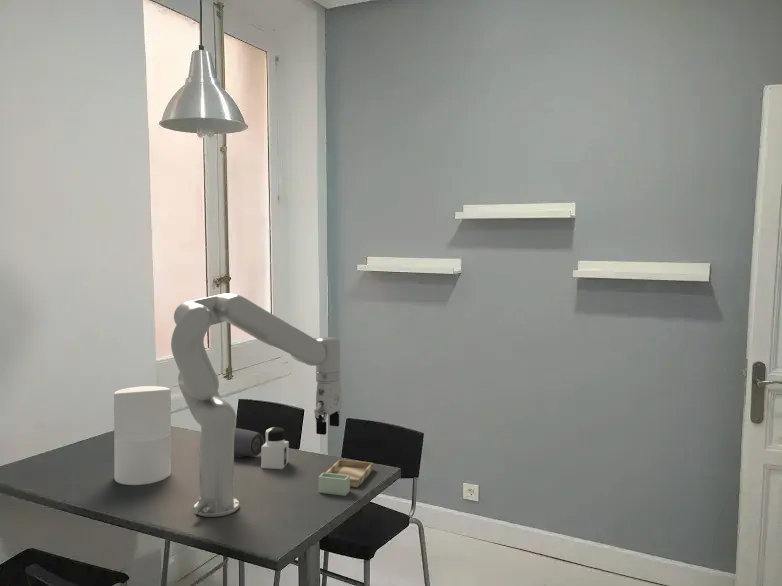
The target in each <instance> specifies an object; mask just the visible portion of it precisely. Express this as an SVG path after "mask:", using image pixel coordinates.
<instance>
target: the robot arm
mask: <svg viewBox="0 0 782 586" xmlns="http://www.w3.org/2000/svg"><path fill="white" fill-rule="evenodd" d="M173 313H174V314H173V321H174V323H175V327H174V330H173V332H172V336H171V340H170V348H171V353H172V356H173V359H174V361H175V364H176V366H177V369H178V371H179V372H178V375H177V382H178V387H179V389H180V391H181V394H182V396H183V399H184V401H185V403H186V404H187V407H188V409H189V411H190V413H191V415H192V417H193V419H194V420H195V422H196V423H197V425H198V424H199V426H200V429H201V431H200V432H201V433H200V438H199V450H198V451H199V452H198V455H199V497H198V501H197V502H196V503H195V504H194V505H193V507H192V508H191V513H192V514H194V515H197V516H201V517H207V518H212V517H213V518H217V517H223V516H227V515H230V514H233V513H235V512H236V511H238V509H239V508H240V501H239V500H238V499H237V498H235V497H234V496H235V495H234V494H235V493H234V492H235V489H234V487H235V484H234V483H235V457H234V436H235V429H236V428H237V427H236V426H237V415H236V411H235V409H234V407H233V406H232V405H231V404H230V403H229V402H228V401H226V400H225V399H223V398H222V397H221V395H220V393H219V387H220V382H219V381H220V380H219V377H218V375H217V373H216V371H215V369H214V368H213V367H214V366H213V365H212V362H211V360H210V358H209V356H208V353H207V351H206V347H205V343H204V341H205V336H206V335H207V333H208V331H209V330H210V328H211V326H213V325H214V326H215V325H217V324H221V323H225V322H226V323H228V324H230V325H232V326H234V327H235V328H237V329H239V330H241V331H243V332H245V334H246V333H247V335H250V336H251V337H253V338H255V339H257V340H258V341H260V342H261V343H262V342H263V343H264V344H266V345H268V346H271V347H275V348H277V349H280V350H282V351H284V352H286V353H287V354H289V355H290V356H291V357H292V359H294V360H295V361H297V362H299V363H303V364H305V365H308V366H310V367H311V366H315V382H316V392H315V393H316V394H315V409H314V418H315V422H316V423H315V424H316V425H315V427H316V428H315V429H316V431H315V433H316V434H317V435H323V436H326V435H327V421H326V418H327V416H329V426H331V427H339V426H340V413H341V412H340V411H341V409H342V387H341V341H340V339H339V338H337V337H333V336H332V337H331V336H324V337H319V338H314V337H312V336H311V335H309V334H307V333H305V332H304V331H302V330H301V329H299V328H297V327H295V326H293V325H291V324H290V323H288V322H287V321H285V320H283V319H281V318H280V317H278V316H276V315H274V314H273V313H271V312H269V311H267V310H266V309H264V308H262V307H261V306H259V305H257V304H256V303H254V302H253V301H251V300H249V299H247V298H246V297H244V296H242V295H240V294H237V293H231V292H230V293H229V292H228V293H221V294H217V295H211V296H207V297H203V298H198V299H192V300H188V301H184V302H183V303H180V304H179V305H177V307H176V309H175V311H174V312H173Z"/></svg>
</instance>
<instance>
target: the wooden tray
mask: <svg viewBox="0 0 782 586" xmlns="http://www.w3.org/2000/svg"><path fill="white" fill-rule="evenodd" d="M373 471H374V462H368V461H361V460H360V461H359V460H349V459H342V458H341V459H340V458H339V459H338V460H337V461H336V462H335V463H333V465H331V467H329V469H328V470H326V471H325V472H324V473H333V474H342V475H350V488H355V489H357V488H358V489H359V487H360V486H361V485H362V484H363V483H365V482H364V481H365V480H366V479H367V478H368V477H369V476H370V474H371V473H372V472H373Z"/></svg>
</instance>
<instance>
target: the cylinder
mask: <svg viewBox="0 0 782 586" xmlns="http://www.w3.org/2000/svg"><path fill="white" fill-rule="evenodd" d="M171 393H172V389H171V388H169V387H166V386H159V385H146V386H145V385H143V386H142V385H141V386H134V387H133V386H132V387H125V388H121V389H118V390H116V391H114V393H113V412H114V414H113V423H114V424H113V427H114V428H113V431H114V432H113V434H114V435H113V436H114V437H113V439H114V440H113V441H114V443H113V445H114V450H113V451H114V455H113V457H114V466H113V468H114V473H113V474H114V477H113V479H114V481H115V482H116V483H118V484H121V485H128V486H138V485H139V486H141V485H149V484H153V483H157V482H160V481H163V480H165V479H167V478H168V477H170V475H171V474H172V468H171V467H172V466H171V465H172V464H171V463H172V461H171V459H172V452H171V451H172V448H171V447H172V445H171V444H172V441H171V439H172V436H171V435H172V433H171V431H172V427H171V426H172V425H171V424H172V417H171V416H172V408H171V405H172V403H171V401H172V399H171V398H172V397H171V396H172V395H171Z"/></svg>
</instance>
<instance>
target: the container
mask: <svg viewBox="0 0 782 586" xmlns="http://www.w3.org/2000/svg"><path fill="white" fill-rule="evenodd" d="M285 435H286V431H285V429H284V428H283V427H278V426H274V427H270V428H268V429H266V430H265V442H264V445H263V446H262V447H261V453H260V454H261V455H260V456H261V457H260V458H261V459H260V460H261V461H260V467H261V469H268V470H269V469H270V470H271V469H272V470H273V469H274V470H283V469H284V468H285V467H286V465H287V464H288V463H289V447H290V443H289V441H288V440H286V437H285Z"/></svg>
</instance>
